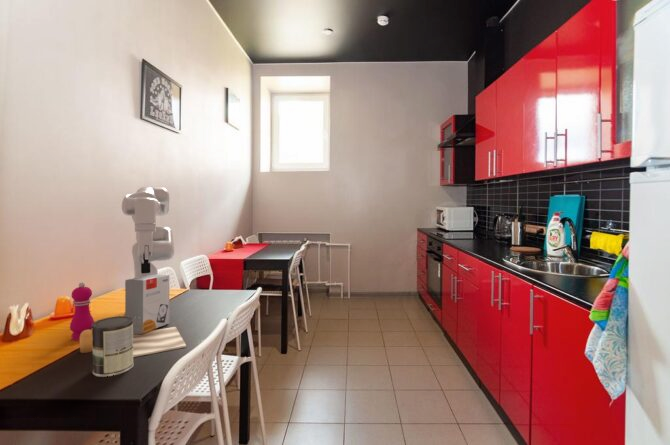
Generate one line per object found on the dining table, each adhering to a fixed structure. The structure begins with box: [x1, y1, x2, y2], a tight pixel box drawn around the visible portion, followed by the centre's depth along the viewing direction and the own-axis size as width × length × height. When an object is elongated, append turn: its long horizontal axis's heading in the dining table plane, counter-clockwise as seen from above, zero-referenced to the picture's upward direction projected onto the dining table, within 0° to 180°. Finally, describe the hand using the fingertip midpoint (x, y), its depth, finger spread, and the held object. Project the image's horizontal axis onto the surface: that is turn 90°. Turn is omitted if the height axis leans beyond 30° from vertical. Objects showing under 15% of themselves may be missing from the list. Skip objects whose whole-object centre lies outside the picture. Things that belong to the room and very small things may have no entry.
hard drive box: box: [124, 274, 171, 334], centre depth 136 cm, size 16×8×20 cm, turn 168°
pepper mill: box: [69, 282, 95, 341], centre depth 126 cm, size 7×7×20 cm
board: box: [133, 326, 187, 358], centre depth 123 cm, size 22×18×1 cm
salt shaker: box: [79, 329, 93, 354], centre depth 115 cm, size 4×4×7 cm
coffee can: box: [91, 315, 134, 378], centre depth 102 cm, size 10×10×14 cm
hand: (145, 272), depth 143 cm, fingers closed
